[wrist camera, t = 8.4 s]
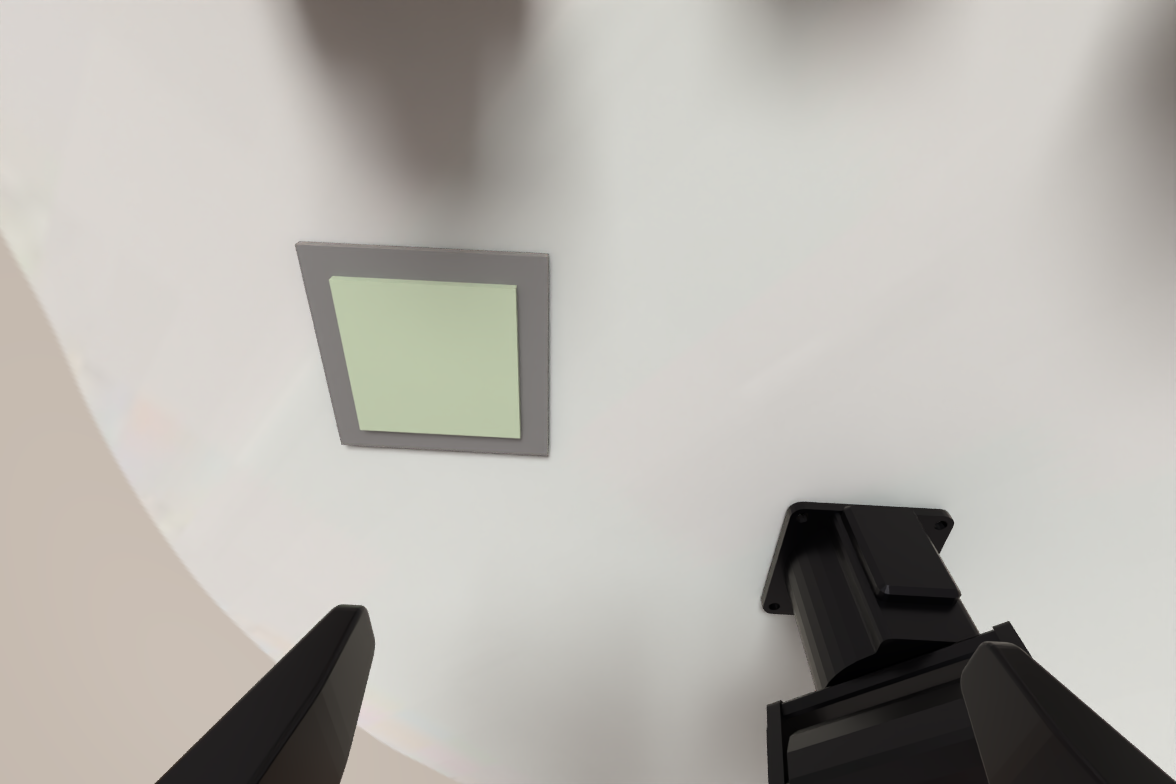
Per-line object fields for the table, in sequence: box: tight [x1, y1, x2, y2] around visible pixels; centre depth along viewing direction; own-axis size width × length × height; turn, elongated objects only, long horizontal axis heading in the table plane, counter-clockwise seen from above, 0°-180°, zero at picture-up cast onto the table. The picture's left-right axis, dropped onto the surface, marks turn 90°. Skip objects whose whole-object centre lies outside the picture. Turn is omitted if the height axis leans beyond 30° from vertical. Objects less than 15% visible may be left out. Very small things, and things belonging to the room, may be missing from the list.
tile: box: [295, 241, 549, 456], centre depth 21 cm, size 8×8×1 cm
